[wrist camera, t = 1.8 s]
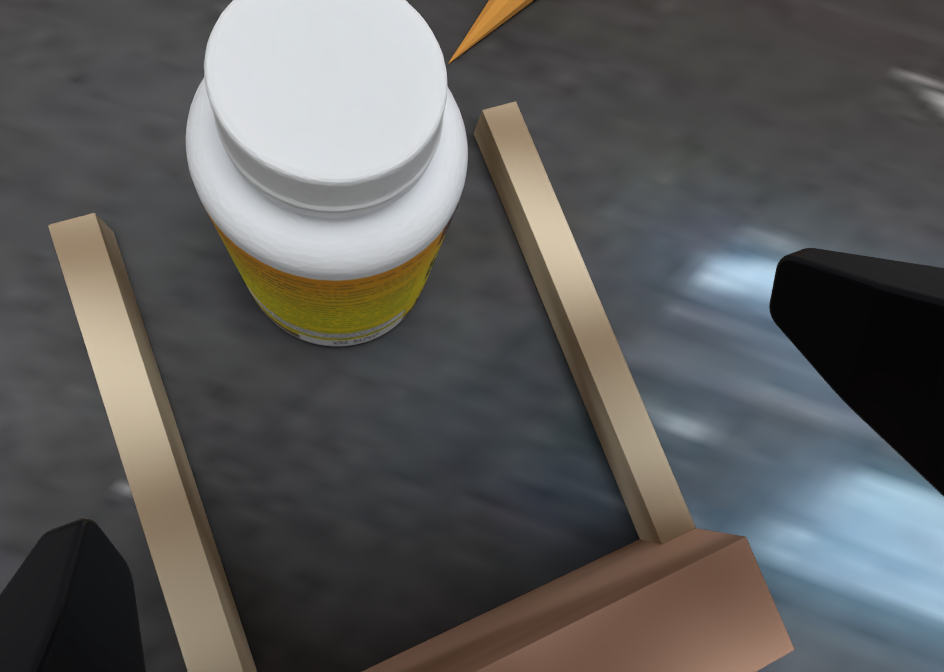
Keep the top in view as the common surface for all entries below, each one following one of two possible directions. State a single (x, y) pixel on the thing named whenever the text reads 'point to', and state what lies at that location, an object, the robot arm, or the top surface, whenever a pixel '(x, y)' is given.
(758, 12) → the top surface
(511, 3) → the carrot
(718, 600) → the rail track
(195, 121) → the supplement bottle
